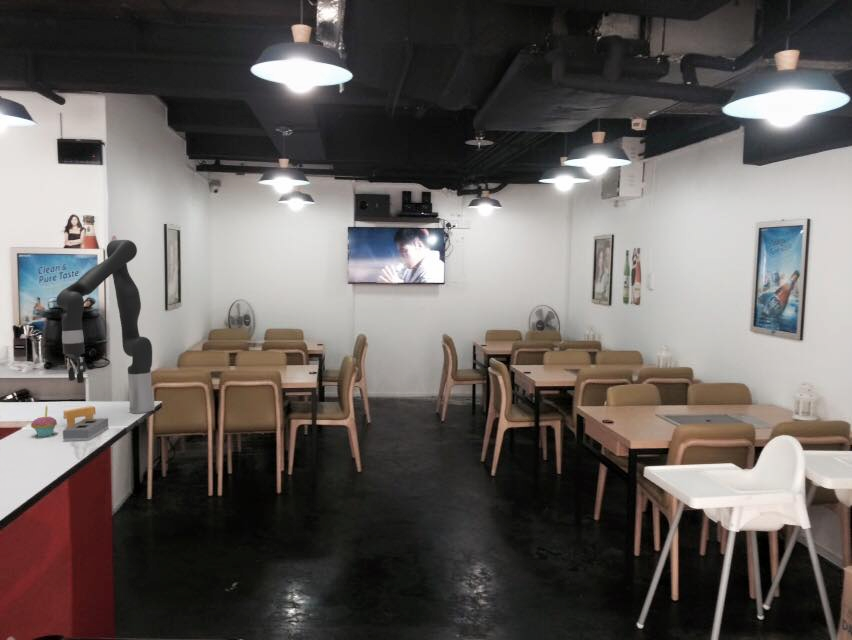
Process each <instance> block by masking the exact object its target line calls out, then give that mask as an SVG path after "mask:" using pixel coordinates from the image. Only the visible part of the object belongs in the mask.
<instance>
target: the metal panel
mask: <svg viewBox="0 0 852 640" xmlns="http://www.w3.org/2000/svg"><path fill="white" fill-rule="evenodd" d="M107 428H108V429H109V418H93V419H85V418H83V419H82V420H80V421H78V422H75V424H74V425H72V426H71V427H69V428H67V427H66V429H64V430H62V438H63V439H62V440H63V442H82V441H84V442H85V441H90V440H92V439H94V438H95V437H97V436H98V435H100V434H101V433H103V432H105V431H107Z"/></svg>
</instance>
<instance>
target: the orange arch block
mask: <svg viewBox="0 0 852 640" xmlns="http://www.w3.org/2000/svg"><path fill="white" fill-rule="evenodd" d="M62 412H63V419H65V420H66V425H67V426H66V429H67V428H69V427H71V426H72V425H74V424H76V420H75V419H76V418H83V417H84V419H94V416H95V415H96V414H97V413H96V407H95V406H93V405H91V406H90V405H89V406H84V407H78V408H73V409H68V410H67V409H66V410H63V411H62Z"/></svg>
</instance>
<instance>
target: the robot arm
mask: <svg viewBox="0 0 852 640" xmlns="http://www.w3.org/2000/svg"><path fill="white" fill-rule="evenodd" d="M137 254H138V247H137V245H136V244H135V242H133V241H131V240H130V239H129V240H128V239H117V240H115V239H113V240H111V241H109V242H108V244H107V246H106V256H107V258H106V259H105V260H103V261H102V262H100V263H98V264H97V265H95V266H93V267H91V268H90V269H89V270H87V271H86V272H85V273H83V275H82V276H81V277H79V278H78V279H77V280H76V281H75V282H74V283H71V284H70V285H69V286H67V287H66V288H64V289H63V290H61V291H60V293H59V294H58V295H57V297H56V300H55V301H56V305H57V306H58V307H59V308H61V309H62V310H63V309H65V310H66V314H65V315H63V316H62V318H61V329H62V330H61V331H62V332H61V333H62V334H61V339H62V340H61V341H62V354H63V355H64V369H65V370H66V371H67V374H68V380H69V381H72V382H73V381H75V380H76V383H77V384H81V383H84V382H85V381H84V373H85V372H86V370H87V369H86V360H85V357H84V356H81V354H83V353H85V342H84V341H85V340H84V333H83V324H82V319H83V314H84V308H85V300H84V297H85V296H87V295H88V296H89V295H91V294H92V293H93V292H94V291H95V290H96V289H98V287H99V286H100V285H101V284H102V283H104V282H105V281H106V280H107V278H109V277H110V276H111V275H112V279H113V285H114V290H115V297H116V304H117V308H118V313H119V318H120V319H119V320H120V326H121V337H122V338H121V341H122V349H123V352H124V354H126V355H127V356H129V357H131V359H132V361H131V362H132V363H131V364H130V365H129V366H128V367H127V376H128V377H127V379H128V399H129V413H130V414H143V413H150V412H152V411H155V396H154V395H155V391H154V388H152V373H151V370H152V369H151V368H152V366H153V346H152V342H151V340H150V339H149V338H148V337H146V336H140V331H139V326H138V325H139V324H138V322H139V318H140V317H139V316H140V313H141V309H142V301H141V297H140V291H139V288H138V286H137V285H136V283H135V280H134V279H133V278H132V276H131V275H130V272H129V268H128V265H127V264H128V263H129V262H131V261H132V260H133V259H135V257H136V256H137ZM75 372H76V373H75Z"/></svg>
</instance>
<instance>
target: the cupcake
mask: <svg viewBox="0 0 852 640" xmlns="http://www.w3.org/2000/svg"><path fill="white" fill-rule="evenodd" d="M44 408H45V412H44V416H42V417H37V418H36V419H34V420H33V421H31V424H30V426H31V429H34V430H35V432H36V434H37V437H38V438H44V437H50V436H52V435H53V434H54V429H55V427H56V425H58V422H57V419H55V418H54V417H51V416H48V404H46V406H45V407H44Z"/></svg>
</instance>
